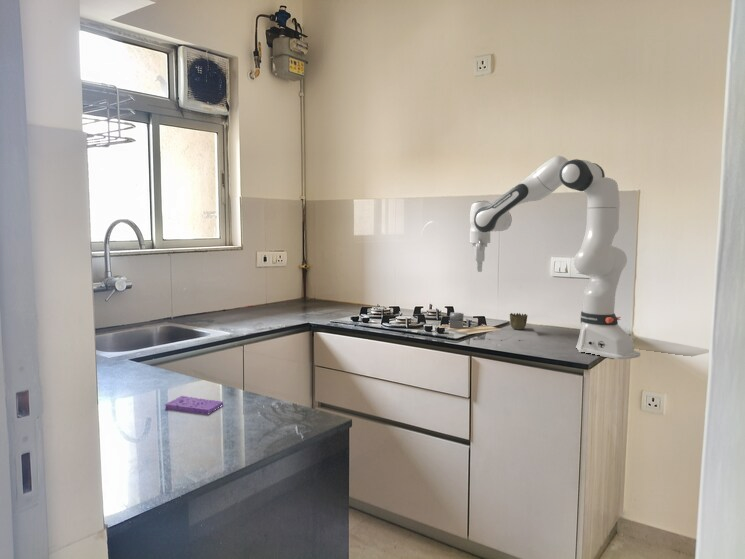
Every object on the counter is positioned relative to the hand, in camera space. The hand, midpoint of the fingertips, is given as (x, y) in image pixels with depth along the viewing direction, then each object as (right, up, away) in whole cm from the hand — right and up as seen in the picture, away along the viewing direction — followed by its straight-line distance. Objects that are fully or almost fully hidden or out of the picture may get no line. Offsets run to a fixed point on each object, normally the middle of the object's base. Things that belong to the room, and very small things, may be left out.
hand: (479, 270), depth 248 cm
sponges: (-91, -37, -104) cm, 143 cm away
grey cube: (-10, -25, 0) cm, 26 cm away
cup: (+16, -27, -2) cm, 31 cm away
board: (-4, -26, 0) cm, 26 cm away
